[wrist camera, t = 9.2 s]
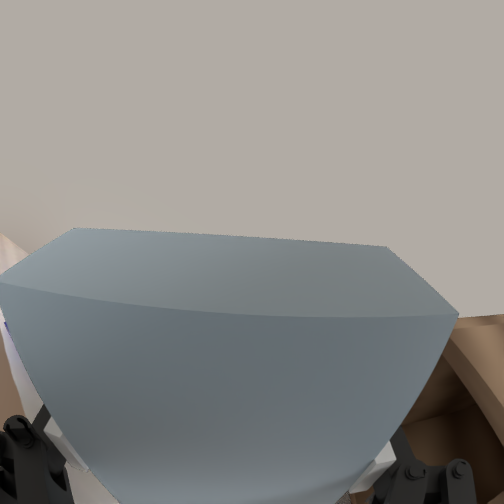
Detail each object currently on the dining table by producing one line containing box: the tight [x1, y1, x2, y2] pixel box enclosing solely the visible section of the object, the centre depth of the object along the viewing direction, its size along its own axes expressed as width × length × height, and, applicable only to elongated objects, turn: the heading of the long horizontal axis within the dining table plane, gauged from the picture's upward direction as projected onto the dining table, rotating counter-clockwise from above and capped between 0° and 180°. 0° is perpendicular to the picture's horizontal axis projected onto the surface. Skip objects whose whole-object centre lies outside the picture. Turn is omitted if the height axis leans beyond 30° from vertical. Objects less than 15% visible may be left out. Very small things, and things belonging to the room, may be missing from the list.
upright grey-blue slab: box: [0, 228, 459, 504], centre depth 10 cm, size 10×5×16 cm, turn 90°
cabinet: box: [349, 314, 504, 504], centre depth 12 cm, size 12×14×20 cm
